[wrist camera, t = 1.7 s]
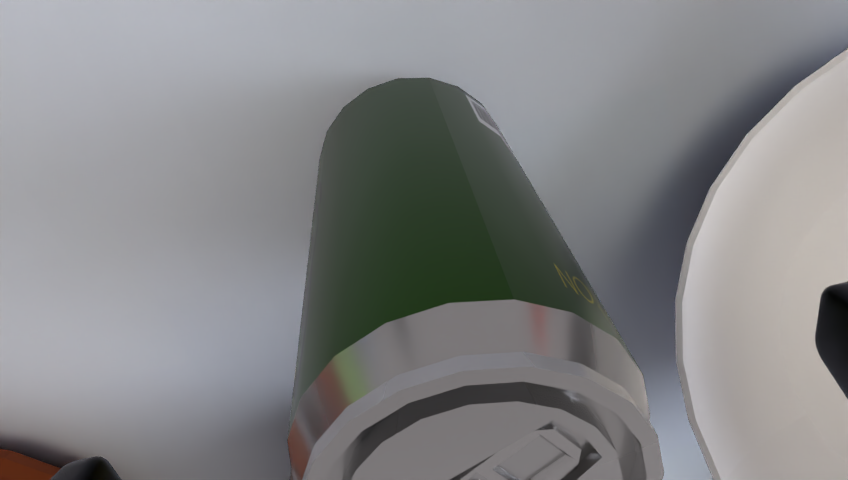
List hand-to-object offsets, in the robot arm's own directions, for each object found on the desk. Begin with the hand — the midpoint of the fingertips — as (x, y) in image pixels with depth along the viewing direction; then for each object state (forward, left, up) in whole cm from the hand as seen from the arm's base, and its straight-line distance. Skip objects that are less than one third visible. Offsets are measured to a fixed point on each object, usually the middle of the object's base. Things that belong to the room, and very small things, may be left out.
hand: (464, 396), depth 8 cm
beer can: (-1, +2, -12) cm, 12 cm away
